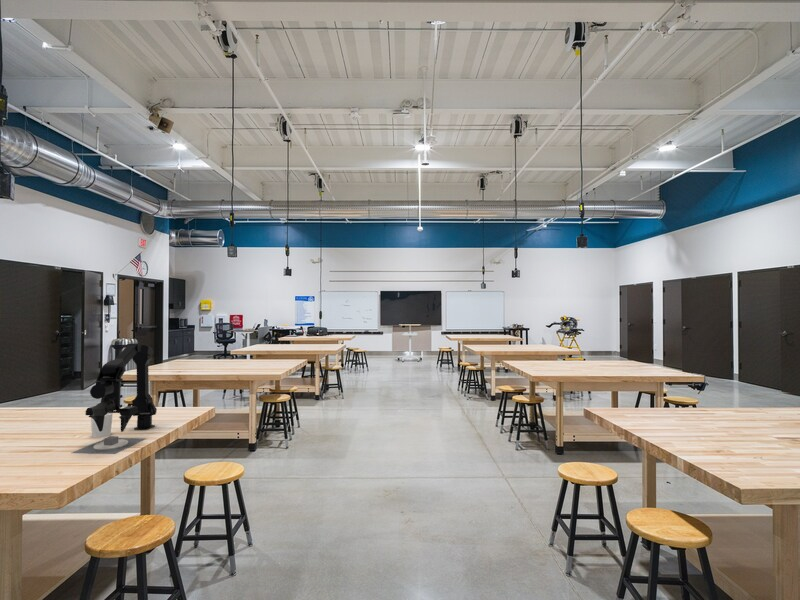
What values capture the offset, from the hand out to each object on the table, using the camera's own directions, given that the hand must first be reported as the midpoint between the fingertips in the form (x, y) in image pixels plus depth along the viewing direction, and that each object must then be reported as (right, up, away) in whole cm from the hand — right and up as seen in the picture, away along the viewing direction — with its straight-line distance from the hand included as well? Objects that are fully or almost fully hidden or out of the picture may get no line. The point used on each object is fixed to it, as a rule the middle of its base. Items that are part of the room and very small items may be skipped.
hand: (111, 431), depth 177 cm
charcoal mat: (0, -6, 0) cm, 6 cm away
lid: (0, -6, 0) cm, 6 cm away
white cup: (-13, -7, +13) cm, 20 cm away
